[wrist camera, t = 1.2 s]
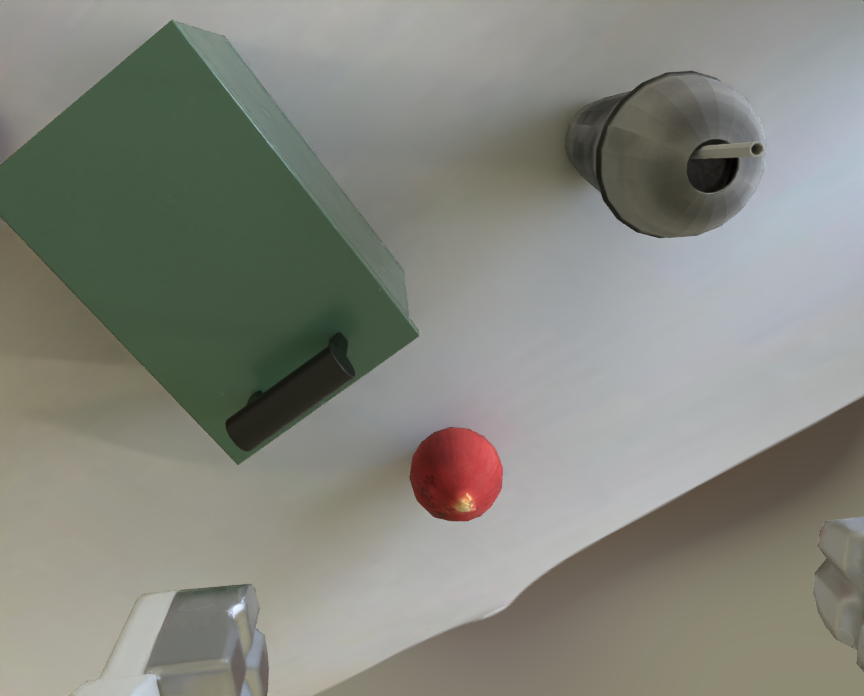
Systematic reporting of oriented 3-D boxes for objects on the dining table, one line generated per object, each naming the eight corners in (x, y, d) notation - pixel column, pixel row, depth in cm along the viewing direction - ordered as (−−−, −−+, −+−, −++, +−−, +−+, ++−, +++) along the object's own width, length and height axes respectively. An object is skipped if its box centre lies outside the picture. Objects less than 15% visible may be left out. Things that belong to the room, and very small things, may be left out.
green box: (404, 270, 46) (409, 318, 36) (260, 376, 47) (230, 447, 38) (224, 35, 40) (177, 20, 31) (69, 163, 42) (-18, 185, 33)
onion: (446, 499, 51) (457, 570, 44) (390, 445, 50) (392, 510, 42) (510, 448, 50) (532, 512, 43) (455, 391, 48) (469, 447, 41)
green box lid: (419, 330, 36) (425, 368, 32) (240, 458, 38) (219, 512, 33) (177, 20, 31) (138, 8, 26) (-19, 185, 33) (-89, 203, 28)
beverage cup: (576, 224, 45) (714, 322, 26) (520, 117, 43) (628, 141, 24) (682, 161, 44) (903, 217, 26) (631, 49, 42) (834, 19, 23)
